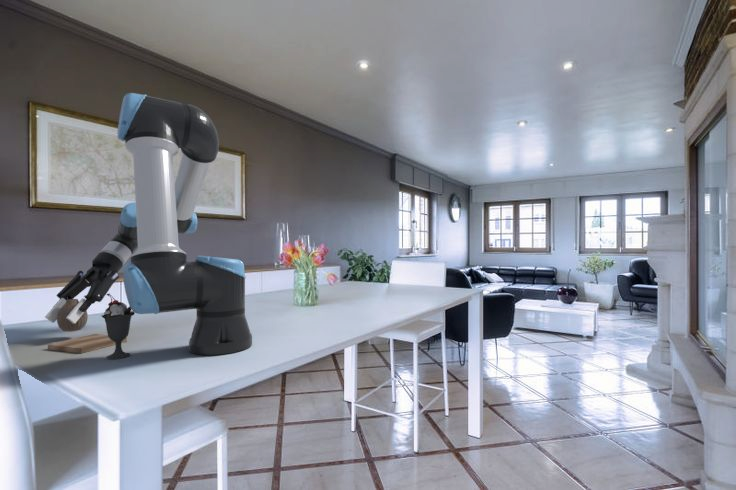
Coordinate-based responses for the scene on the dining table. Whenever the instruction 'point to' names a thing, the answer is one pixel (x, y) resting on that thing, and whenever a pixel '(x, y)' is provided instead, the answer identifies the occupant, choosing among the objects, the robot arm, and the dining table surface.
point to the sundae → (117, 325)
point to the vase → (65, 311)
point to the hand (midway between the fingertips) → (60, 320)
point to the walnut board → (83, 344)
